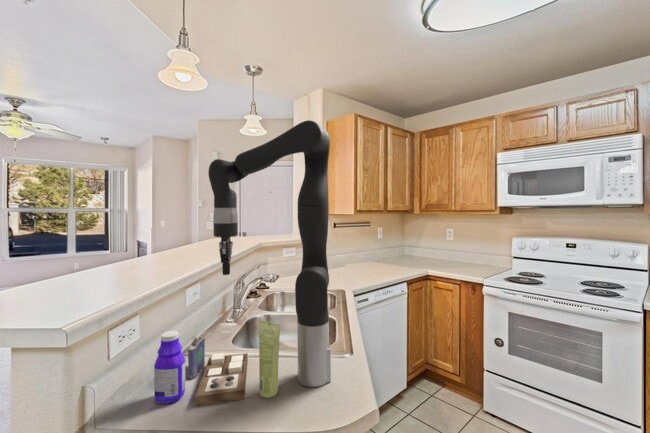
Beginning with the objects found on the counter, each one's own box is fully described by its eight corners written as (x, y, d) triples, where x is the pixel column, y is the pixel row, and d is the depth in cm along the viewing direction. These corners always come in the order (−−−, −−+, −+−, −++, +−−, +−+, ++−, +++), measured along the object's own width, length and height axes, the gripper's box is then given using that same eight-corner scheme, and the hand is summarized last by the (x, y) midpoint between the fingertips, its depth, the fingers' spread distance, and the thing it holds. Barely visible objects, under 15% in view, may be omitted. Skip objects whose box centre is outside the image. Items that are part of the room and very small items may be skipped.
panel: (247, 360, 96) (247, 352, 96) (244, 398, 76) (244, 387, 76) (209, 365, 93) (209, 356, 93) (195, 405, 74) (195, 394, 74)
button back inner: (243, 362, 94) (243, 354, 94) (242, 368, 91) (242, 360, 91) (231, 363, 94) (231, 356, 94) (230, 369, 90) (230, 361, 90)
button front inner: (242, 368, 88) (242, 360, 88) (241, 375, 85) (241, 367, 85) (229, 370, 87) (229, 362, 87) (228, 377, 84) (228, 368, 84)
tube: (279, 385, 82) (278, 317, 82) (281, 396, 77) (280, 324, 77) (258, 388, 81) (258, 319, 80) (259, 400, 76) (258, 326, 75)
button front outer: (222, 375, 87) (222, 367, 87) (220, 382, 83) (220, 373, 83) (209, 377, 86) (209, 368, 86) (207, 384, 83) (207, 375, 83)
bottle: (189, 391, 80) (188, 328, 79) (179, 404, 74) (178, 337, 74) (162, 391, 80) (161, 329, 79) (150, 405, 74) (149, 338, 74)
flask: (195, 379, 85) (194, 343, 85) (185, 379, 85) (184, 343, 85) (206, 363, 95) (205, 330, 94) (197, 363, 94) (196, 331, 94)
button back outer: (224, 360, 93) (224, 352, 93) (223, 366, 90) (223, 358, 90) (212, 361, 92) (212, 354, 92) (211, 367, 89) (210, 359, 89)
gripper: (235, 222, 89) (236, 278, 89) (239, 221, 102) (239, 269, 102) (210, 222, 87) (210, 279, 88) (216, 221, 100) (217, 271, 100)
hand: (226, 274), depth 95 cm, fingers closed
